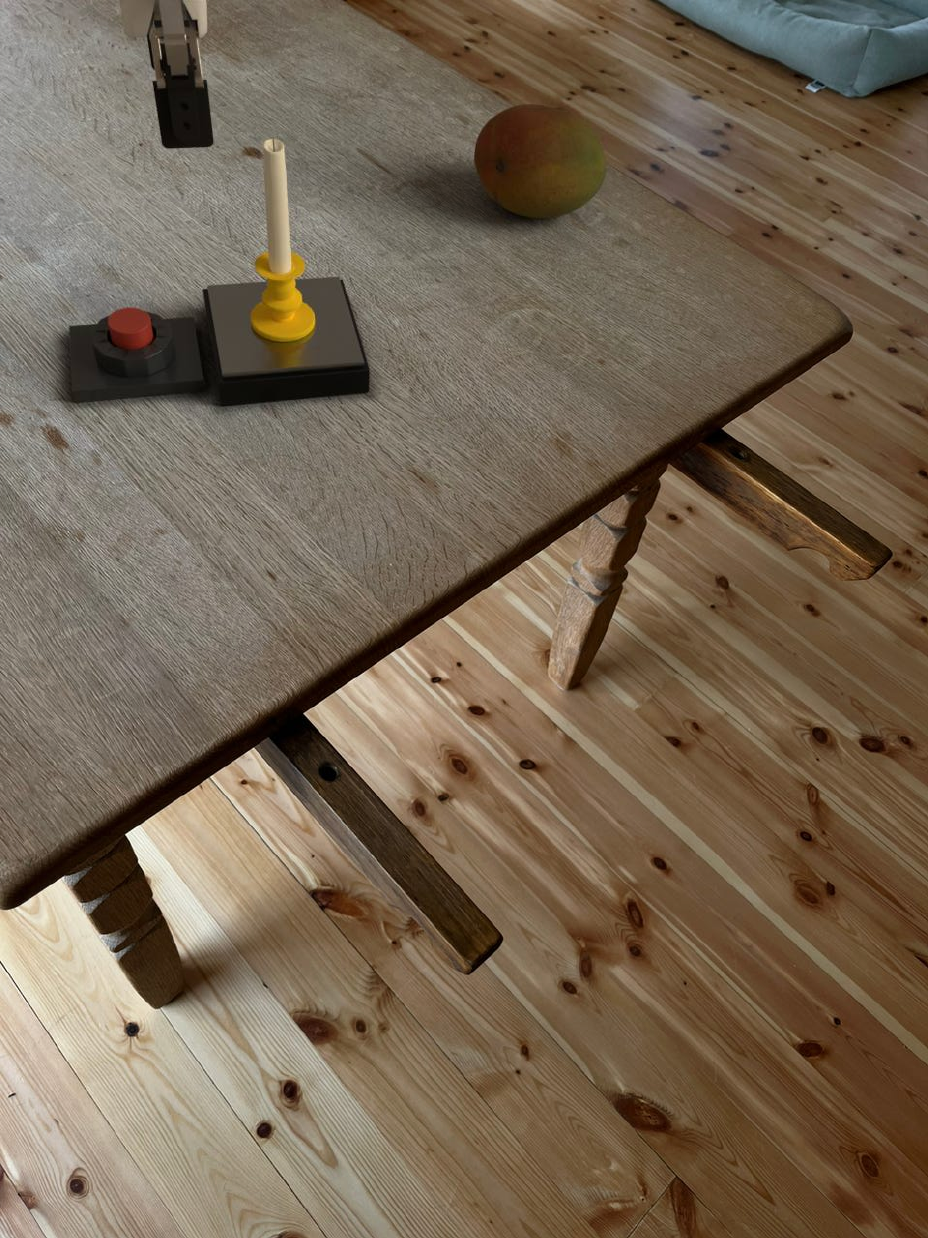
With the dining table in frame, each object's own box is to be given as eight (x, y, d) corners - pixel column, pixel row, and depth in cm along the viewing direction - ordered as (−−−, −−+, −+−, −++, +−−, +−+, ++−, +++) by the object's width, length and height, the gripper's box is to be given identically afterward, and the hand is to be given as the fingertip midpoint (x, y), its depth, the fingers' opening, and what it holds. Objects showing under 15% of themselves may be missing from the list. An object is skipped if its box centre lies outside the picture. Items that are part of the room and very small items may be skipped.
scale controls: (75, 403, 79) (66, 373, 76) (72, 337, 83) (64, 307, 81) (205, 391, 81) (201, 361, 79) (195, 327, 86) (191, 298, 83)
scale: (221, 406, 80) (217, 377, 78) (205, 312, 87) (201, 282, 84) (369, 392, 83) (370, 363, 80) (342, 302, 90) (343, 272, 87)
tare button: (112, 352, 79) (108, 334, 77) (110, 326, 81) (106, 308, 79) (154, 349, 80) (151, 331, 78) (151, 323, 81) (148, 305, 80)
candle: (326, 331, 82) (323, 148, 70) (268, 349, 80) (254, 163, 68) (297, 295, 85) (290, 111, 72) (240, 311, 83) (222, 125, 70)
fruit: (451, 196, 101) (460, 96, 93) (540, 161, 107) (557, 64, 99) (529, 255, 97) (546, 155, 88) (619, 215, 102) (642, 117, 94)
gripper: (60, -273, 57) (116, 43, 71) (67, -157, 47) (130, 181, 61) (196, -267, 59) (225, 41, 72) (229, -154, 49) (255, 175, 63)
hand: (181, 105), depth 67 cm, fingers open, 9 cm apart
